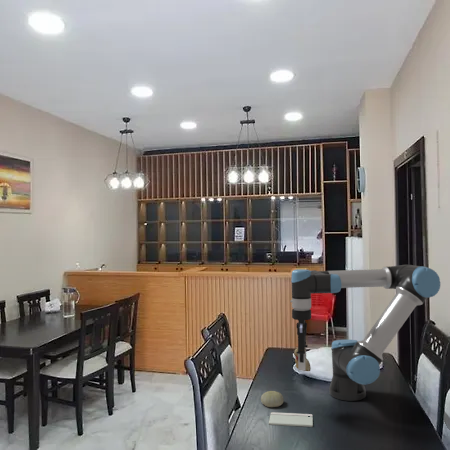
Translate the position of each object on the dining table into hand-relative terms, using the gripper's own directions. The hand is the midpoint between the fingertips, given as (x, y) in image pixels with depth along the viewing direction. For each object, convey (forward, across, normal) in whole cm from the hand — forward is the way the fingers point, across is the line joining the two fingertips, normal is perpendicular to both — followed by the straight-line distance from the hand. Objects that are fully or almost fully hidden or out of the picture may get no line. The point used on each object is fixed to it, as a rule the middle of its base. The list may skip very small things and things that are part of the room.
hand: (302, 367), depth 164 cm
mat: (+18, +9, -4) cm, 20 cm away
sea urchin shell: (+18, -6, -13) cm, 23 cm away
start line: (+18, +4, -4) cm, 18 cm away
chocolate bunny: (+1, 0, 0) cm, 1 cm away
